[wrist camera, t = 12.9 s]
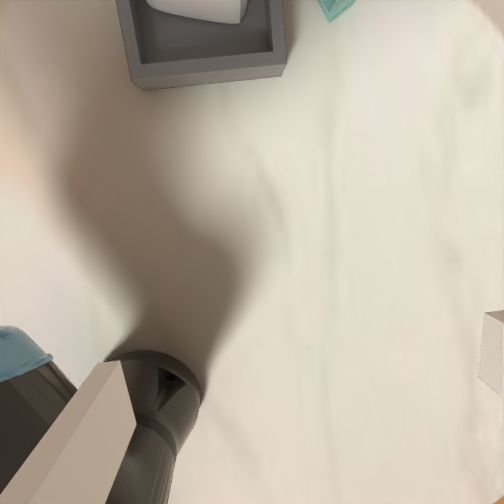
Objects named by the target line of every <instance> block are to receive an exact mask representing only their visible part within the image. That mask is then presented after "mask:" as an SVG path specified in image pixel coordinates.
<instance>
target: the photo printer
mask: <svg viewBox="0 0 504 504" xmlns="http://www.w3.org/2000/svg"><path fill="white" fill-rule="evenodd" d="M146 1H147V3H148V4H149V5H150V6H151V7H152V8H154V9H157V10H159V11H162V12H166V13H171V14H175V15H180V16H184V17H189V18H195V19H200V20H206V21H213V22H219V23H226V24H239V23H240V20H241V19H242V18H243V16H244V15H245V12H246V9H247V2H248V0H146Z"/></svg>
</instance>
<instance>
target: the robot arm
mask: <svg viewBox="0 0 504 504" xmlns="http://www.w3.org/2000/svg"><path fill="white" fill-rule="evenodd" d="M52 359H53V356H52V355H51V354H46V353H45V352H44V351H43V350H42V349H41V348H40V347H39V346H38V345H37V344H36V343H35V342H34V341H33V340H32V339H31V338H30V337H29V336H28V335H27V334H26V333H25V332H24V331H22V330H21V329H19V328H17V327H13V326H0V504H167V503H168V497H169V492H170V487H171V482H172V477H173V471H174V466H175V461H176V457H177V454H178V453H179V451H180V449H181V448H182V446H183V444H184V443H185V441H186V439H187V437H188V436H189V434H190V432H191V430H192V429H193V427H194V425H195V423H196V420H197V417H198V412H199V406H200V389H199V386H198V383H197V381H196V379H195V377H194V375H193V374H192V373H191V371H190V370H189V369H188V368H187V367H186V366H185V365H184V364H182V363H181V362H179V361H178V360H176V359H174V358H172V357H170V356H168V355H165V354H162V353H157V352H150V351H139V352H132V353H128V354H124V355H122V356H119V357H117V358H115V359H114V360H112V361H110V362H103V363H97V365H96V366H95V368H94V369H93V370H92V372H91V373H90V374H89V376H88V377H87V378H86V380H85V381H84V382H83V384H82V385H81V386H80V388H79V389H78V390H77V389H76V387H75V386H74V385H73V384H72V383H71V382H70V380H69V379H68V378H67V377H66V376H65V375H64V374H63V372H62V371H61V370H60V369H59V368H58V367H57V365H56V364H55V363H54V362H53V361H52ZM477 377H478V378H479V379H480V380H481V381H482V382H484V383H485V384H486V385H487V386H489V387H490V388H491V389H492V390H493V391H495V392H496V393H497V394H498V395H500V396H501V397H502V398H503V399H504V310H501V311H494V312H486V313H484V321H483V330H482V339H481V348H480V358H479V367H478V376H477Z"/></svg>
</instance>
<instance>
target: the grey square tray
mask: <svg viewBox="0 0 504 504" xmlns="http://www.w3.org/2000/svg"><path fill="white" fill-rule="evenodd" d="M116 5H117V10H118V15H119V20H120V26H121V31H122V36H123V41H124V46H125V51H126V56H127V62H128V67H129V72H130V77H131V80H132V81H133V82H134V83H135V84H136V85H137V86H138V87H139V88H140V89H141V90H152V89H162V88H172V87H181V86H191V85H201V84H211V83H220V82H230V81H240V80H250V79H259V78H269V77H279V76H281V75H282V73H283V70H284V68H285V66H286V49H285V35H284V20H283V6H282V0H248V2H247V9H246V12H245V15H244V16H243V18H242V19H241V20H240V23H239V24H226V23H219V22H213V21H206V20H200V19H195V18H189V17H184V16H180V15H175V14H171V13H166V12H162V11H159V10H157V9H154V8H152V7H151V6H150V5H149V4H148V3H147V1H146V0H116Z"/></svg>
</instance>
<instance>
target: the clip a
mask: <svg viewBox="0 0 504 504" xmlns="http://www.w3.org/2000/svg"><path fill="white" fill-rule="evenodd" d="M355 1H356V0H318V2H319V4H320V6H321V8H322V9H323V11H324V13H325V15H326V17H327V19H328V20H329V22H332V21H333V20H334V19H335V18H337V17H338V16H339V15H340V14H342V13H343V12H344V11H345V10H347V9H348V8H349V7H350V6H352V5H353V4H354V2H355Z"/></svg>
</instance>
